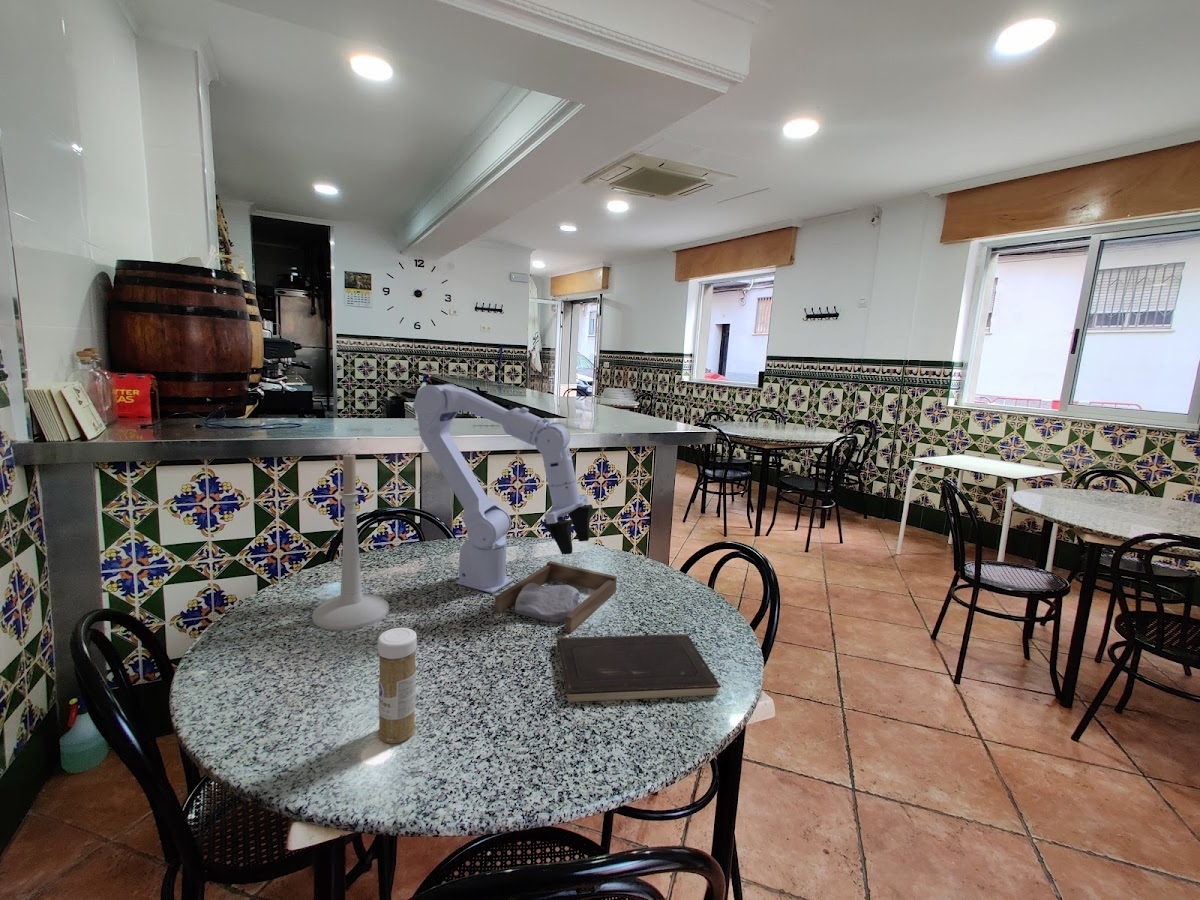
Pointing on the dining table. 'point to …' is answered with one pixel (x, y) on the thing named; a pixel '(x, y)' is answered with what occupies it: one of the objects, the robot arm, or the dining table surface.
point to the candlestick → (350, 571)
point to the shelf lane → (569, 574)
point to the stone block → (547, 602)
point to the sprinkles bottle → (397, 684)
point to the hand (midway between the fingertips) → (575, 546)
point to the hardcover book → (633, 668)
